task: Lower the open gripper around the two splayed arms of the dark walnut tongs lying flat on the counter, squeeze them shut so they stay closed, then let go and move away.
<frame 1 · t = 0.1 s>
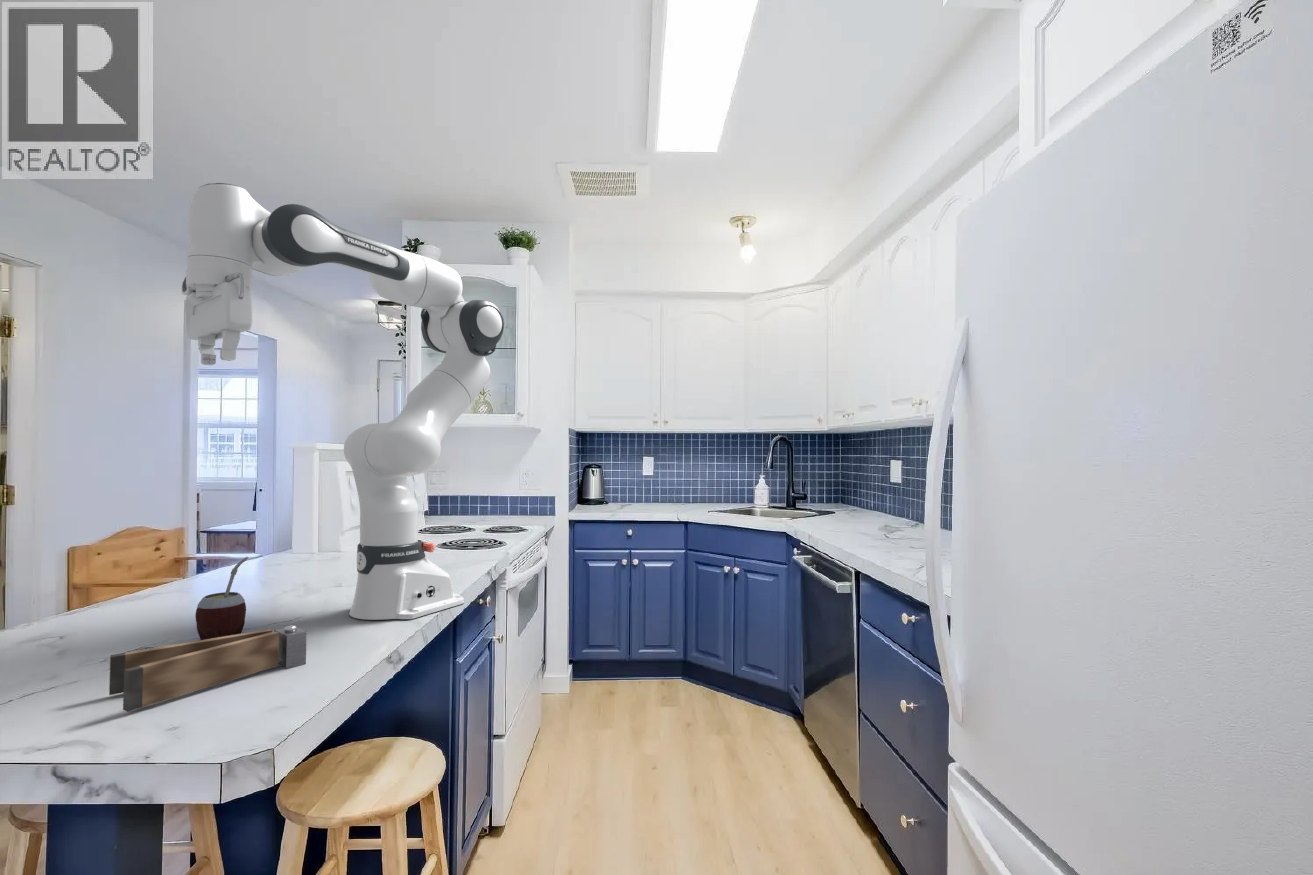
hand: (217, 362, 102), 48 cm above the counter, tool pointing down, fingers open, 8 cm apart
tong arm 2: (208, 667, 84), point 3 cm above the counter, hinge at 10.0°
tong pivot: (289, 662, 95), on the counter
tong arm 1: (196, 659, 87), point 3 cm above the counter, hinge at 10.0°
mate gourd: (223, 642, 105), on the counter
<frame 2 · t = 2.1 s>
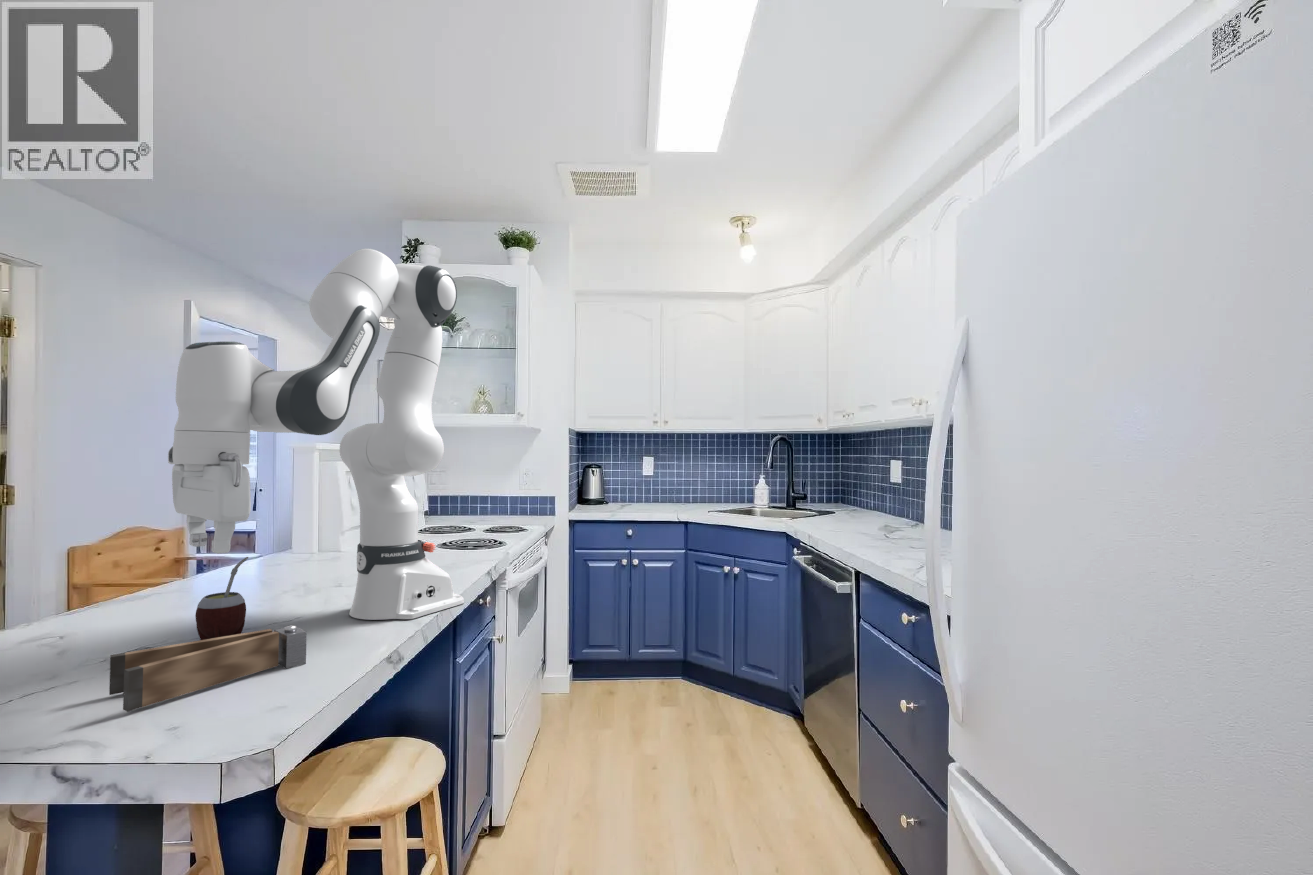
hand: (209, 549, 86), 19 cm above the counter, tool pointing down, fingers open, 8 cm apart
nothing on the counter moved.
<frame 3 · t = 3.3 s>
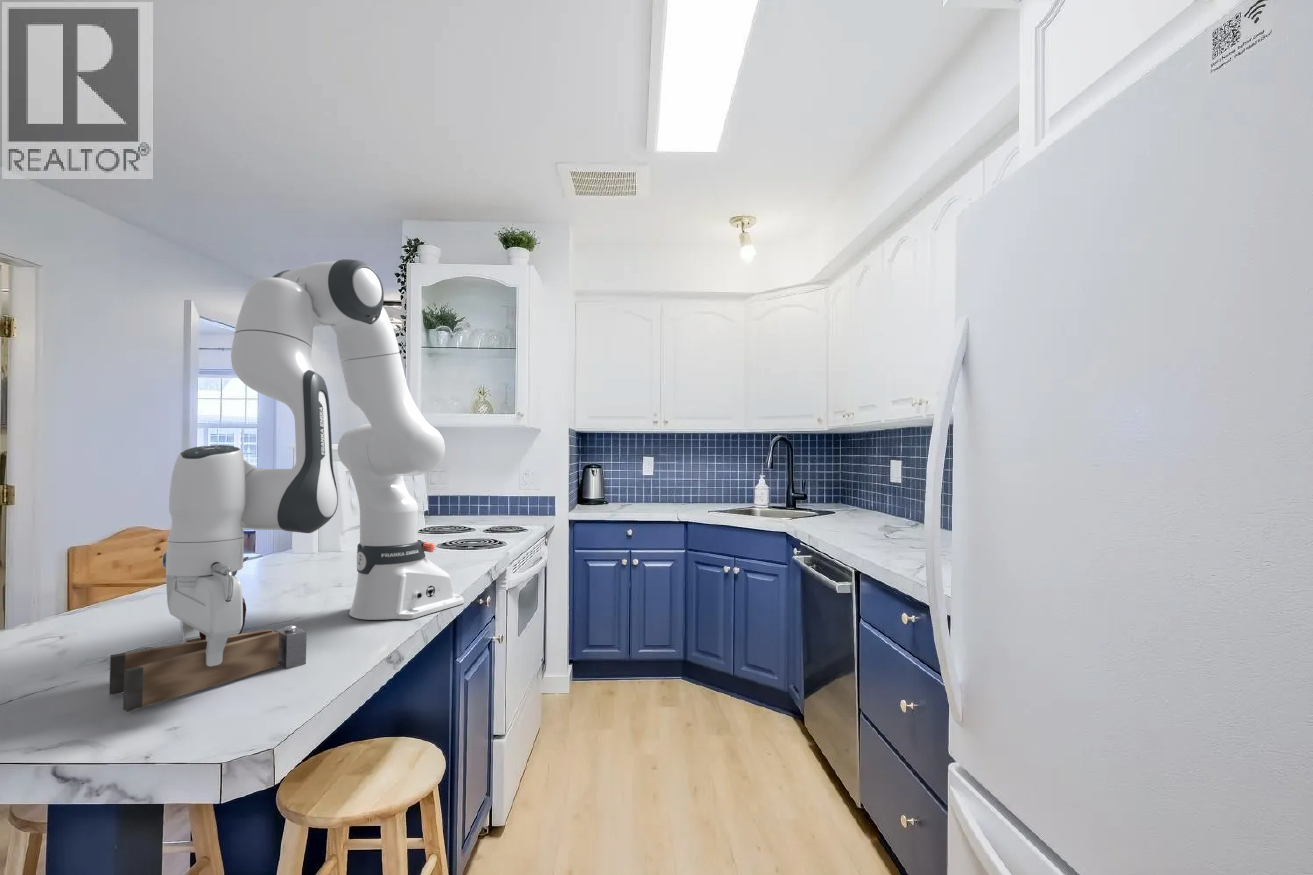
hand: (201, 657, 86), 4 cm above the counter, tool pointing down, fingers open, 8 cm apart
nothing on the counter moved.
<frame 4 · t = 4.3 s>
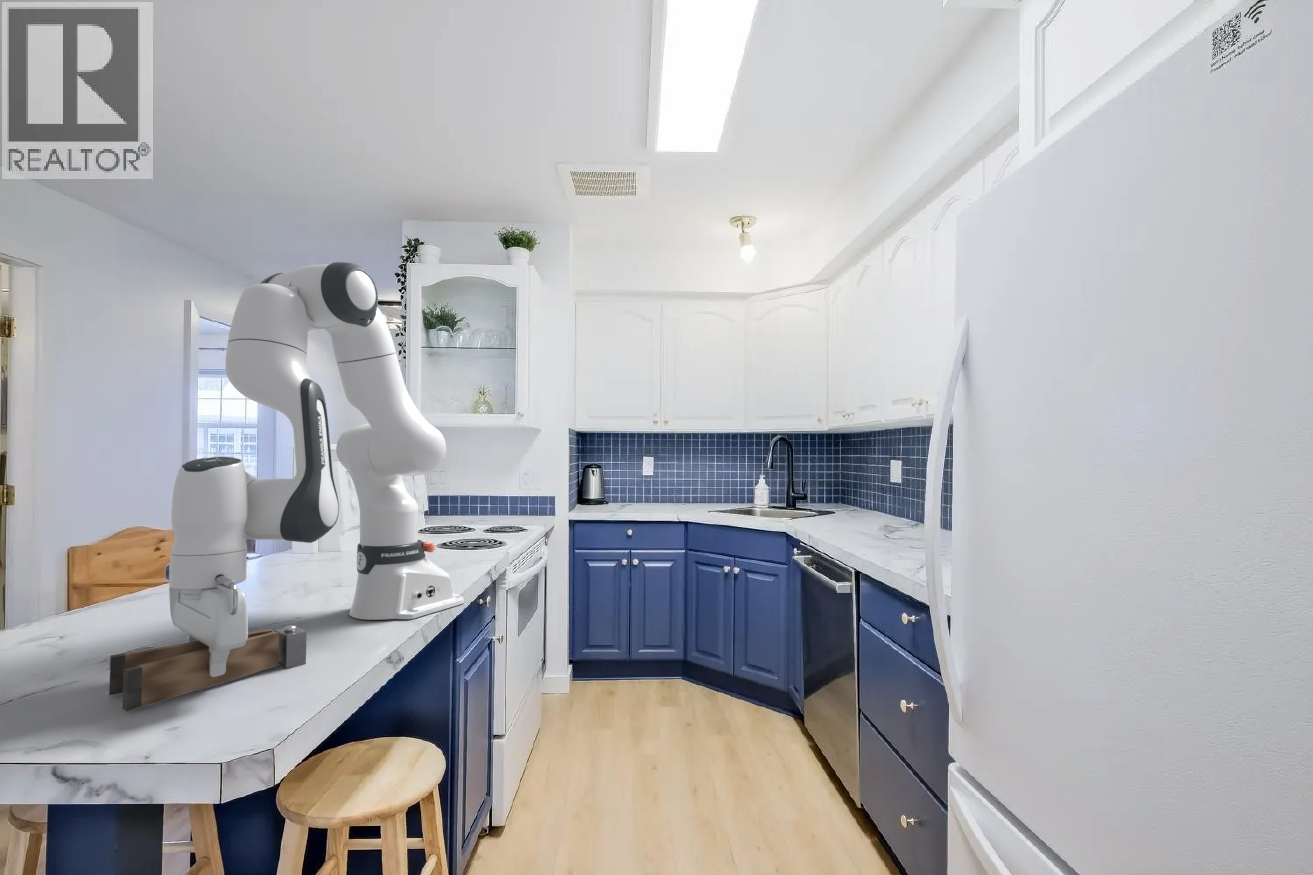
hand: (206, 668, 86), 2 cm above the counter, tool pointing down, fingers open, 6 cm apart
tong arm 2: (207, 667, 84), point 3 cm above the counter, hinge at 9.2°, touching gripper
tong arm 1: (196, 659, 87), point 3 cm above the counter, hinge at 9.3°, touching gripper
everything else where it was.
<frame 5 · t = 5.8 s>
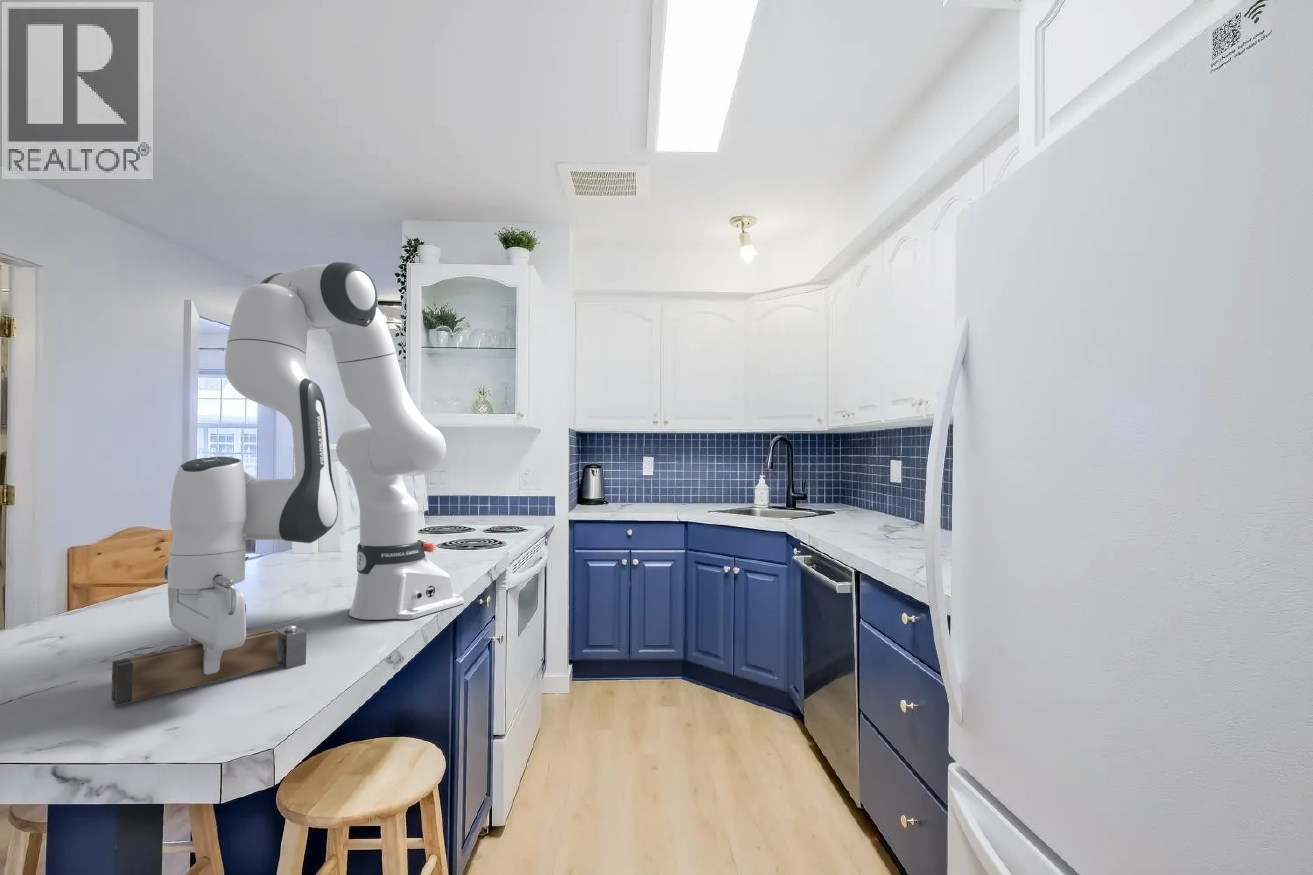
hand: (205, 668, 86), 2 cm above the counter, tool pointing down, fingers open, 3 cm apart
tong arm 2: (202, 664, 85), point 3 cm above the counter, hinge at -0.4°, touching gripper
tong arm 1: (198, 662, 86), point 3 cm above the counter, hinge at -0.2°, touching gripper
everything else where it was.
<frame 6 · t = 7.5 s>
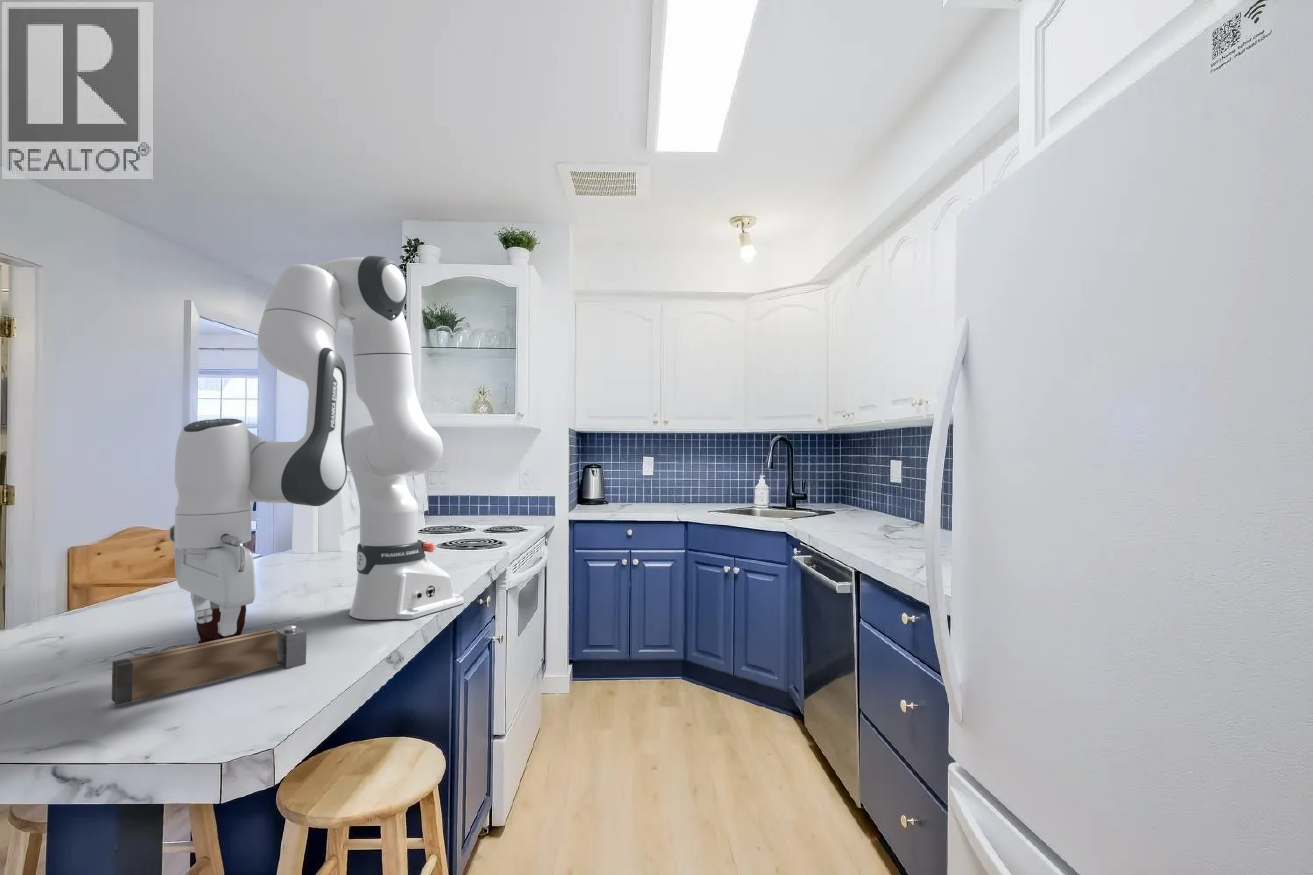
hand: (215, 627, 87), 8 cm above the counter, tool pointing down, fingers open, 8 cm apart
tong arm 2: (202, 664, 85), point 3 cm above the counter, hinge at -0.4°
tong arm 1: (198, 662, 86), point 3 cm above the counter, hinge at -0.2°
everything else where it was.
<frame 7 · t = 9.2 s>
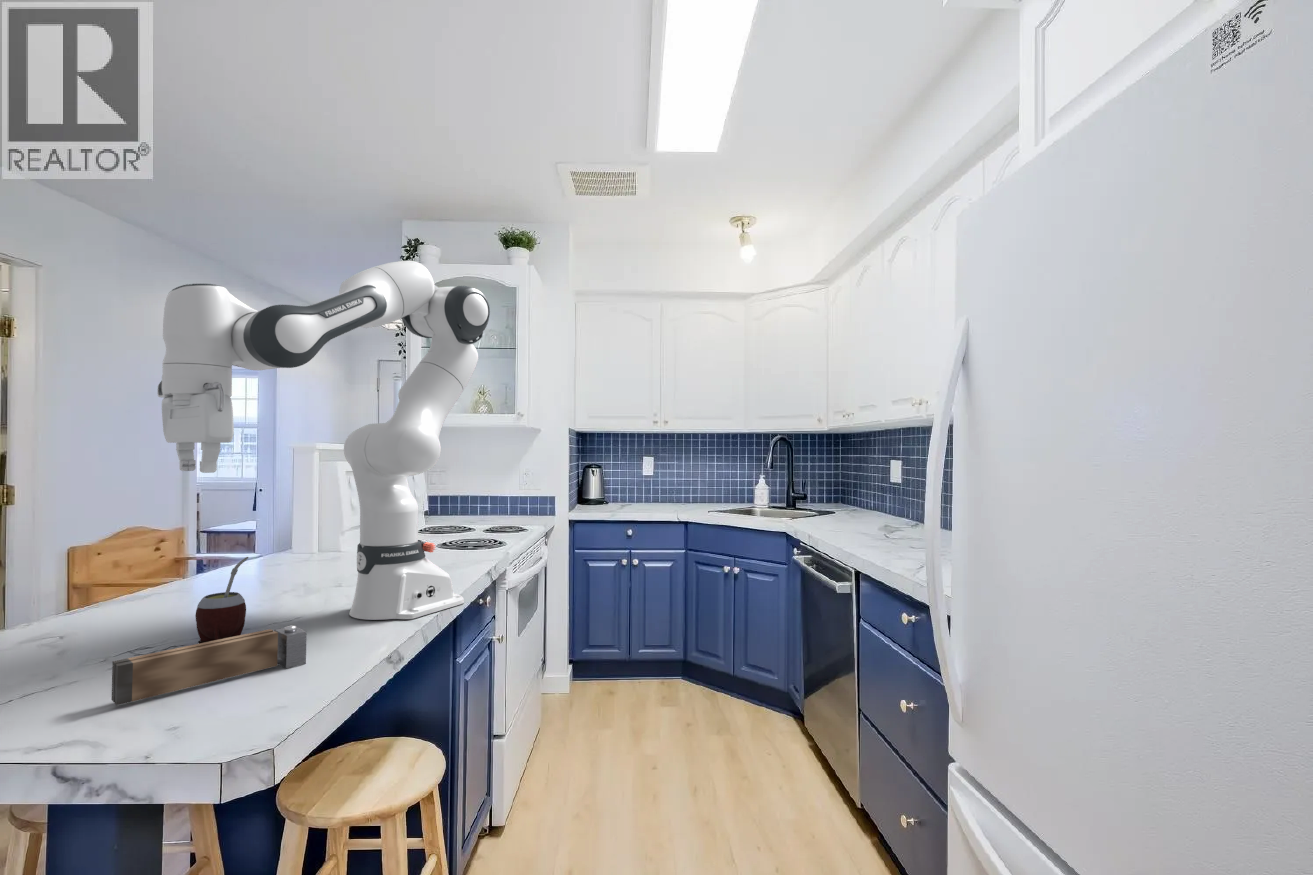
hand: (197, 471, 96), 30 cm above the counter, tool pointing down, fingers open, 8 cm apart
nothing on the counter moved.
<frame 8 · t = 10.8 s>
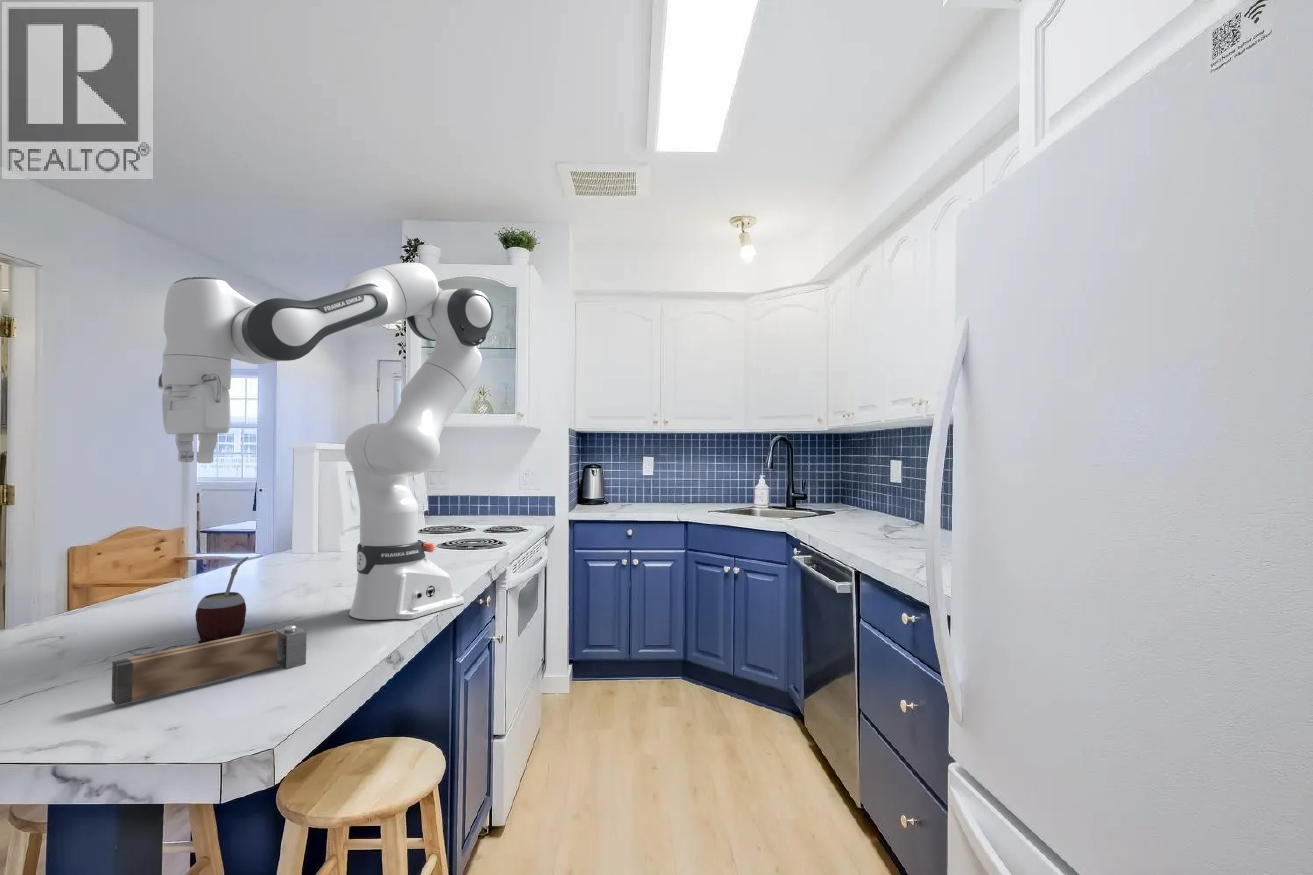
hand: (195, 462, 97), 31 cm above the counter, tool pointing down, fingers open, 8 cm apart
nothing on the counter moved.
at the end: tong arm 2 at +0° (first picture: +10°); tong arm 1 at +0° (first picture: +10°) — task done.
